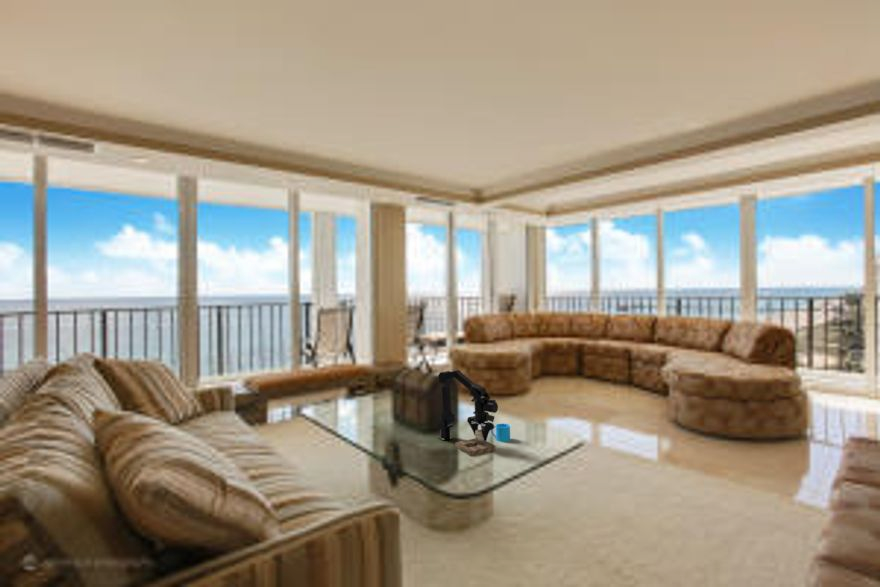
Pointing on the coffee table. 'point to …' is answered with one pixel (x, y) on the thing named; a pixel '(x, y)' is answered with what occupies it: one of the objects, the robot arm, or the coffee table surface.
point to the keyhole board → (474, 447)
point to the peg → (479, 437)
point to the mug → (502, 432)
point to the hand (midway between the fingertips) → (480, 438)
